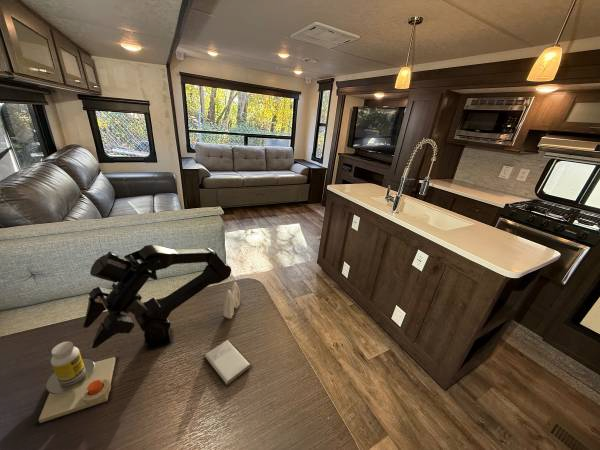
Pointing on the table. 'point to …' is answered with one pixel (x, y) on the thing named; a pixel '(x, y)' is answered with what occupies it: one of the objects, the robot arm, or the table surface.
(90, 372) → the scale pan
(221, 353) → the hard drive
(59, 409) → the scale
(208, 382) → the table surface
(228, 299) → the shaker set
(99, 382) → the tare button
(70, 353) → the supplement bottle
